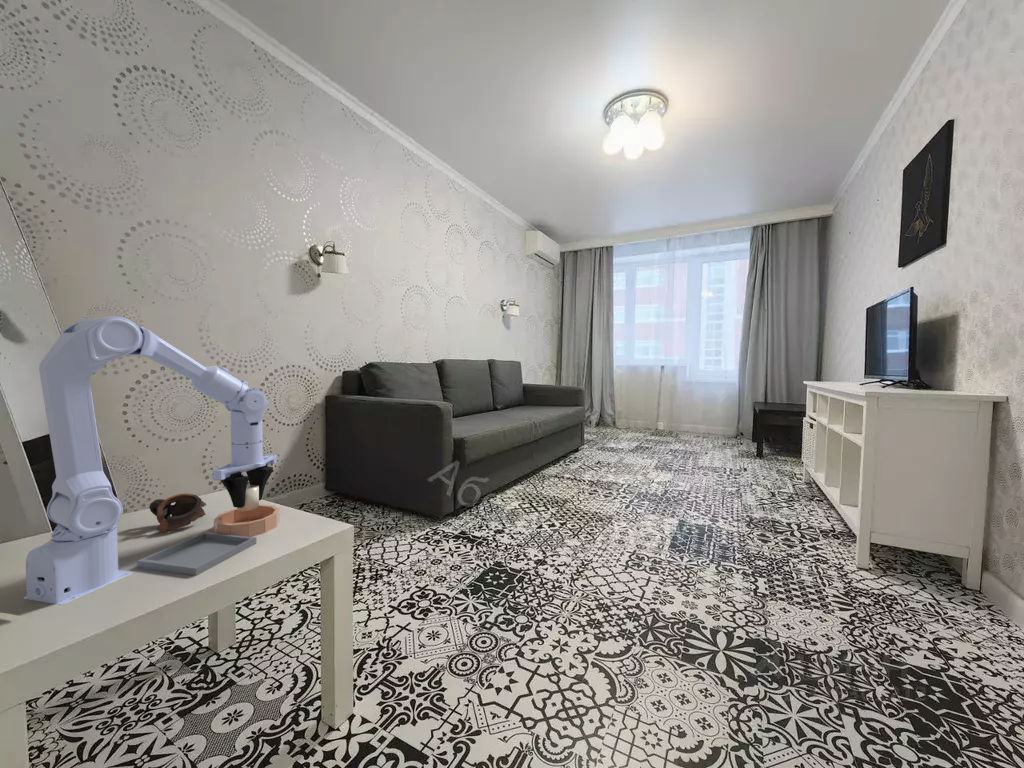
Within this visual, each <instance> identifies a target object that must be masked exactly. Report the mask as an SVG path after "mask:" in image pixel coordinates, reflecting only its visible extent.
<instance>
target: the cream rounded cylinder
mask: <svg viewBox="0 0 1024 768" xmlns="http://www.w3.org/2000/svg"><path fill="white" fill-rule="evenodd" d="M259 505H260V501H259V486H258V485H250V484H247V487H246V495H245V505H244V507H242V508H237V507H236V508H237V510H238V511H249V510H253V509H256V508H258V507H259Z"/></svg>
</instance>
